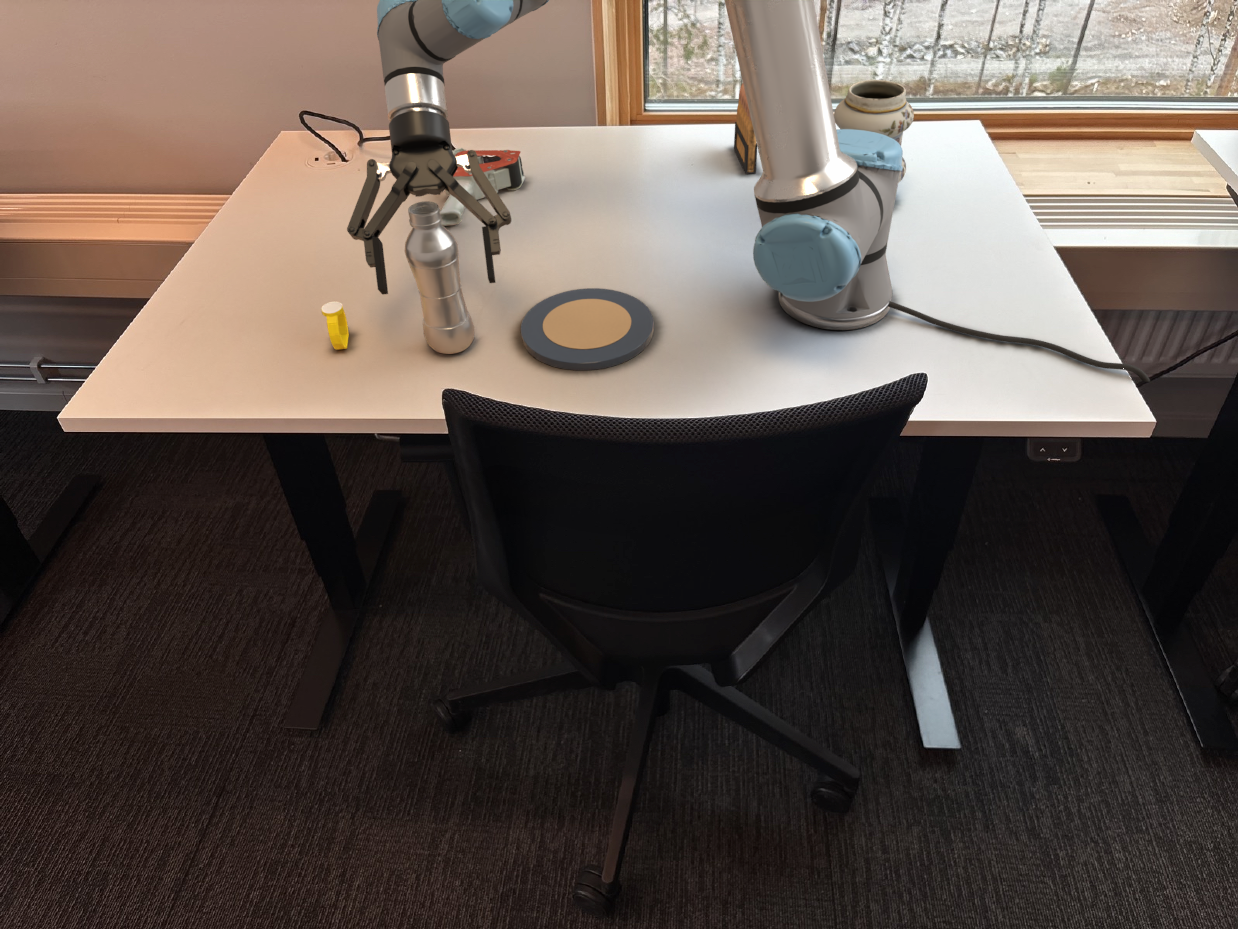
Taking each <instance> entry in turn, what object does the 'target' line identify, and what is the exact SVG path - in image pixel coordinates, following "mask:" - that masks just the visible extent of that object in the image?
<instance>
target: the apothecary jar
mask: <svg viewBox="0 0 1238 929" xmlns="http://www.w3.org/2000/svg"><path fill="white" fill-rule="evenodd" d="M906 95H907V91H906V88H905V86H904V85H903V84H900V83H898V82H895V81H892V80H885V79H867V80H866V79H865V80H861V81H858V82H855V83H853V84H852V85H850V86H849V88H848V89H847V94H846V96H845V98H844V99H842V100H841V101H840V102H839V103H838V104H837V106H836V107H835V109H834V111H833V113H834V119H835V125H836V127H837V128H839V129H854V130H864V131H870V132H875V133H879V134H883V135H886V136H888V137H890V138H892V139H894V140H895V141H897V142H898V143H899V144H900V145H901V146H902V142H903V137H904V136H903V135H904V132H906V131H907V130H908V129H909V128H910V126H912V124H913V122H914V118H915V112H914V109H913V106H912V105H911V104H910V102H908V101H907V96H906ZM902 167H903V169H902V171H900V176H899V182H898V184H899V183H900V182H901V181H903V179H904V178H905V176H906V173H907V163H906V161H905V158H904V156H902Z"/></svg>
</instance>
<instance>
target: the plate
mask: <svg viewBox="0 0 1238 929" xmlns="http://www.w3.org/2000/svg"><path fill="white" fill-rule="evenodd" d="M654 324H655V322H654V316H653V314H652V311H651V310H650V309H649V307H648V306H647V305H646V304H645V303H644V302H642V300H640V299H638V298H637V297H635V296H633V295H631V294H628V293H625V292H623V291H619V290H614V289H609V288H598V287H594V288H593V287H591V288H578V289H571V290H567V291H563V292H558V293H556V294H553V295H551V296H548V297H546V298H544V299H543V300H541V301H539V302H538V303H536V304H535V305H534V306H532V307H531V308H530V309H529V310H528V311H527V312H526V314H525V315H524V317H523V319H522V321H521V325H520V336H521V341H522V344H523V347H524V349H525V350H526V351H527V352H528V354H529V355H531V356H532V357H533V358H535V359H536V360H537V361H539V362H541V363H543V364H545V365H547V366H551V367H553V368H557V369H562V370H568V371H569V370H570V371H595V370H596V371H597V370H602V369H603V370H604V369H607V368H611V367H615V366H618V365H621V364H623V363H626V362H628V361H629V360H631V359H633V358H635V357H637V356H638V355H639V354H641V353H642V352H643V351H644V350H645V349H646V348H647V347H648V345H649V344H650V342H651V341H652V339H653V335H654V332H655V331H654V330H655V325H654Z"/></svg>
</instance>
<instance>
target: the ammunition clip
mask: <svg viewBox="0 0 1238 929" xmlns="http://www.w3.org/2000/svg"><path fill="white" fill-rule="evenodd" d="M733 151H734V154H735V155H736V158H737V160H738V162H739V164H740V167H741V168H742V170H743V172H744V175H755V174H757V164H758V163H757V161H758V160H757V159H758V147H757V142H756V138H755V134H754V129H753V125H752V120H751V116H750V111H749V107H748V103H747V98H746V94H745V89H744V85H743V82H742V83H741V85H740V88H739V93H738V101H737V107H736V121H735V122H734V140H733Z"/></svg>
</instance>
